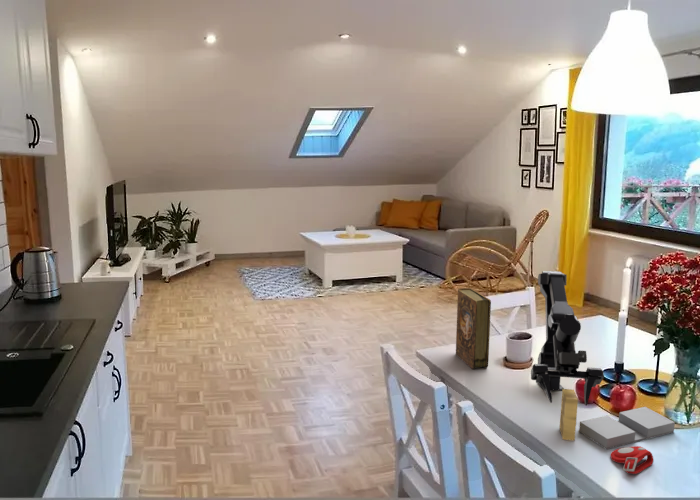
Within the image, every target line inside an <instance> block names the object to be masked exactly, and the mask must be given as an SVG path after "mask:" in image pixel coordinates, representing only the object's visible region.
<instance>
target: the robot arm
mask: <svg viewBox="0 0 700 500" xmlns="http://www.w3.org/2000/svg"><path fill="white" fill-rule="evenodd" d="M537 275H538V276H537V283H538V286H539V292H540V293H541V294H542V295H543V297H544V301H545V305H544V307H545V308H544V309H545V310H544V311H545V342H544V343H543V345H542V347H541V350H540V352H539V354H538V357H537V363H534V364H533V365H532V367H531V371H530V380H532V381H535V383H536V384H538V385H539V387H540V388H541V389H543V391H544V393H545V395H546V397H547V399H548V401H549V403H551V404H552V402H553V396H552V395H553V394H552V391H562V389H565V387H563V386H562V385H561V378H572V379H573V378H575V379H584V384H583V392H584V393H583V394H584V398H583V399H584V400H583V401H584V405H585V406H587V405H588V404H589V399H590V395H591V392H592V389H593V388H596V387H597V386H598V385H601V383H602V381H603V379H604V377H605V376H604V375H605V374H604V370H603V369H602V368H601V367H591V366H590V367H589V366H588V367H587V368H586V370H585V371H583V370H579V368H580V365H581V363H587V361H588V360H587V358H588V357H587V350H577V352H576V346H575V345H576V344H575V342H576V341H577V339H578V338H579V337H578V336H579V334H580V332H581V328H582V324H581V322H580V321H579V319H578V318H577V316H576V315H575V311H574V308H573V307H571V306H570V305H569V304H568V299H567V292H566V286H567V279H568V278H567V274H565V273H563V272H562V271H553V270H552V271H550V270H549V271H548V270H547V271H546V270H542V271H541V273H539V274H537ZM577 369H578V370H577Z"/></svg>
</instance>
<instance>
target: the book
mask: <svg viewBox="0 0 700 500" xmlns="http://www.w3.org/2000/svg"><path fill="white" fill-rule="evenodd" d="M491 306H492V301H491V299H490V298H488V297H487V296H485V295H483V294H481V293H479V292H478V291H477V290H475V289H472V288H467V287H465V288H458V289H457V306H456V309H457V312H456V334H455V336H456V338H455V339H456V340H455V356H457V357H458V358H459V359H460V360H461V361H462V362H463V363H465V364H466V365H467V366H468V367H469V368H470V369H472V370H475V369H477V368H486V369H487V368H488V366H489V355H490V335H491V334H490V332H491V330H490V329H491V309H492V307H491Z"/></svg>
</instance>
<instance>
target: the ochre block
mask: <svg viewBox="0 0 700 500" xmlns="http://www.w3.org/2000/svg"><path fill="white" fill-rule="evenodd" d="M578 401H579V399H578V396H577V394H576V392H575V389H569V388H564V389H562V390H561V402H560V403H561V404H560V415H559V416H560V417H559V431H560V434H561V437H562V438H561V439H562V440H565V441H566V440H567V441H574V442H575V440H576V427H577V417H578V416H577V415H578V414H577V413H578V403H579V402H578Z"/></svg>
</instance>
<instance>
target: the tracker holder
mask: <svg viewBox="0 0 700 500" xmlns="http://www.w3.org/2000/svg"><path fill="white" fill-rule="evenodd" d="M610 458H611V460H612V461H613V462H615V463H620V464H624V465H623V468H622V471H623V472H625V473H627V474H631V475H634V474H635V475H636V474H640V473H641V472H643V471H644V470H646V469H648V468H649V467H650V466H652V465H653V463H654V456H653V453H652V452H651V451H649V449H646V448H644V447H643V446H639V445H638V446H636V445H634V446H625V447H620V448H617V449H614V450H612V451H611V452H610ZM645 458H646V460H644V461H643V462H642V463H640V462H641V461H642V460H643V459H645ZM638 463H639V464H638ZM637 464H638V465H637Z"/></svg>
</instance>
